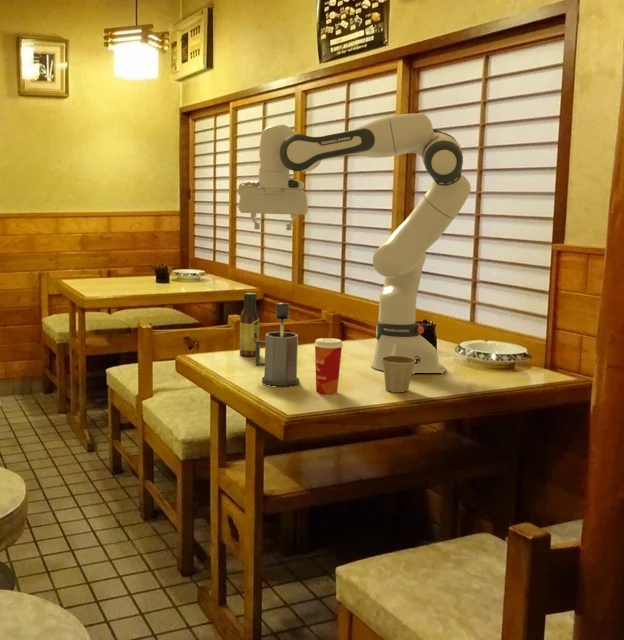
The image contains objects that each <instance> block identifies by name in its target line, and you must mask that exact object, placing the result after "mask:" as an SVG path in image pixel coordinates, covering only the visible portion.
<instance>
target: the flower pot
mask: <svg viewBox="0 0 624 640" xmlns="http://www.w3.org/2000/svg"><path fill="white" fill-rule="evenodd" d="M381 360H382V363H383V366H384V371H383V373H384V386H385V390H386V391H389V392H390V391H391V393H394V392H395V393H396V392H402V393H404V392H405V391H407V392H408V391H409V389H410V383H411V379H412V378H411V377H412V375H413V374H412V369H413V367H414V363H415V362H416V360H415V359H413V358H410V357H405V356H385V357H382V358H381Z"/></svg>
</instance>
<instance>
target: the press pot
mask: <svg viewBox="0 0 624 640" xmlns="http://www.w3.org/2000/svg"><path fill="white" fill-rule="evenodd" d="M261 345H263V346H264V362H263V361H262V362H261V361H260V360H261V359H260V358H261ZM298 346H299V334H298V333H295V332H290V331H284V334H283V337H280V331H271V332H266V334H265V338H264V340H259V341H257V340H256V355H255V367H264V376H262V377H261V384H262V383H263V384H262V385H264V384H266V385H265V386H267V385H270V386H269V387H271V386H276V387H275V388H291V387H290V386H292V387H296V386H299V384H300V378H299V377H298V353H299V352H298V350H299V349H298V348H299V347H298ZM295 385H296V386H295Z"/></svg>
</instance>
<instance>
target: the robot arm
mask: <svg viewBox="0 0 624 640" xmlns="http://www.w3.org/2000/svg"><path fill="white" fill-rule="evenodd" d="M258 152H259V154H258V155H259V159H260V166H259V169H258V181H243V182H241V183H239V185H238V189H237V190H238V195H239V196H240V197H239V202H238V211H239V212H240V213H241V214H250V218H251V221H252V222H253V225H254V226H253V227H254V230H260V229H261V226H260V225H261V223H260V222H257V220H256V217H257V214H258V215H259V214H262V215H265V214H267V215H270V214H272V215H290V219H291V221H290V222H289V223H287V224H286V226H285V227H286V229H285V230H286V231H293V230H292V228H293V227H292V226H293V223H294V222H295V221H296V217H297V216H296V215H298V216H301V215H302V216H306V215H307V213H308V212H309V211H308V210H309V208H308V207H309V206H308V205H309V204H308V196H307V193H306V191H305V190H303V189H304V188H305V184H304V182H303V181H302V180H300V179H296V178H295V177H290V171H292V172H311V171H313V170H315V169H316V168H317V167H319V165H320V164H321V162H322V160H327V159H328V160H329V159H333V158H338V157H343V156H350V155H351V156H355V155H356V156H364V157H368V158H376V159H377V158H379V159H380V158H389V157H396V156H401V155H405V154H417V155H419V156H421V158H422V162H423V165H424V167H425V170H426V171H427V173H428V175H429V176H430V177H431V178H432V179H433V182H432V183H431V185H430V187H429V189H428V190H427V191H426V192H425V194H424V195H423V196H422V198H421V199H420V201H418V203H417V205H416V206H414V208H413V209H412V211H411V213H409V215H408V216H407V217H406V219H404V221H403V222H401V223H400V225H399V226H397V227H396V229H394V231H393V232H392V233H391V234H390V235H389V236H388V238H386V240H385V241H383V243H382V244H381V245H380V246H379V247H377V249H375V251H374V253H373V256H372V264H373V265H372V266H373V268H374V270H375V271H376V272H377V274H379V275H380V276H383V277H385V279H384V283H383V286H382V290H381V292H380V294H379V301H378V302H379V304H378V320H377V322H376V325H375V327H376V328H375V337H376V338H375V339H376V346H375V350H374V354H373V357H372V362H371V365H370V367H371V368H373V369H375V370H378V371H383V372H384V366H383V363H382V360H381V358H382V357H385V356H405V357H410V358H413V359H415V360H416V362H415V363H414V367H413V369H412V374H411V375H416V374H415V373H442V372H444V371H445V372H446V367H445V365H444V364H443V363H441V362H440V361H439V355H438V351H437V349H436V347H435V346H433V344H432V343H430V342H429V341H428V340H427V339H426V338H424V337H423V336H422V334H423V333H424V331H425V329H424V327H423V326H422V325H421V324H419V323H417V322H416V312H417V311H416V308H417V297H418V293H419V292H418V290H419V286H420V282H421V279H422V272H423V267H424V264H425V261H426V252H427V251H428V249H429V248H431V246H432V245H433V244H435V242H437V241H438V240H439V239H440V238H441V236H442V235H443V233H445V231H446V230H447V228H448V227H449V226H450V225H451V223H452V221H454V219H455V218H456V216H457V215H458V214H459V213H460V211H461V209H462V208H463V206H464V205H465V204H466V201H467V199H468V197H469V195H470V194H471V191H472V189H471V188H472V187H471V183H470V181H469V180H468V179H467V177H466V176H464V175H463V174H462V170H463V165H464V164H463V163H464V155H463V151H462V147H461V145H460V143H459V142H458V141H457V139H456V138H455V137H453V136H452V135H450V134H449V133H446V132H442V131H440V130H437V129H434V128H433V124H432V121H431V120H430V119H429V117H428V116H427V115H425V114H424V113H421V112H420V113H415V112H414V113H401V114H396V115H391V116H386V117H381V118H379V119H378V118H377V119H376V120H372V121H371V122H367V123H366V124H363V125H360V126H359V127H358V126H357V127H355V128H353V129H350V130H347V131H342V132H337V133H331V134H326V135H321V136H320V135H319V136H309V135H306V134H301V133H298V132H296V131H294V129H293V130H292V129H291V128H290V127H289V126H287V125H285V124H277V125H270V126H268V127H265V128H264V129H263V130H262V132H261V133H260V141H259V151H258ZM445 372H444V373H445ZM442 374H443V373H442Z"/></svg>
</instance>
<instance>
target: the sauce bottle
mask: <svg viewBox="0 0 624 640" xmlns="http://www.w3.org/2000/svg"><path fill="white" fill-rule="evenodd" d="M243 300H244V302H243V309H242V310H241V312H240V317H239V319H240V320H239V321H240V322H239V345H238V347H239V355H241V356H243V357H254V356H255V357H256V340H257V341H260V319H261V318H260V315H259V313H258V309H257V293H255V292H245V293H243Z"/></svg>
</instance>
